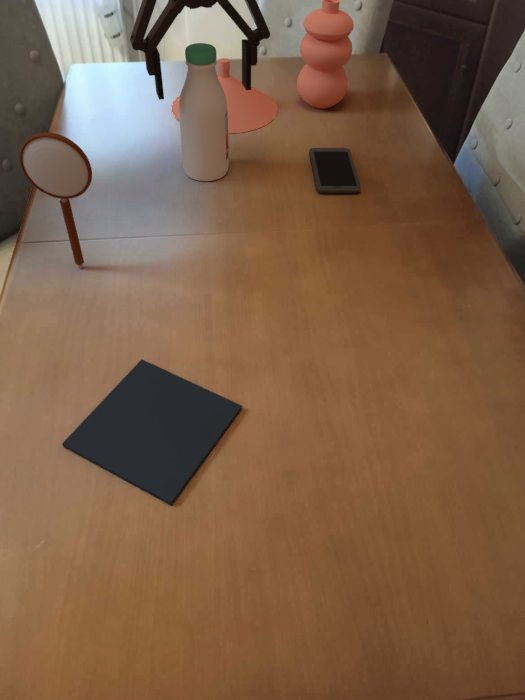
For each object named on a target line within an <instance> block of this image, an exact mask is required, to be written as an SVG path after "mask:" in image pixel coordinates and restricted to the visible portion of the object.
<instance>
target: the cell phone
mask: <svg viewBox="0 0 525 700" xmlns="http://www.w3.org/2000/svg"><path fill="white" fill-rule="evenodd" d="M308 155H309V159H310V164H311V169H312V174H313V179H314V184H315V189H316V192H317V193H318V194H358V193H360V192H361V191H362V190H361V189H362V187H361V184H360V180H359V176H358V173H357V169H356V166H355V163H354V160H353V156H352V153H351V149H350V148H347V147H310V148H309V152H308Z"/></svg>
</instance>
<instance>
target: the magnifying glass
mask: <svg viewBox="0 0 525 700" xmlns="http://www.w3.org/2000/svg"><path fill="white" fill-rule="evenodd" d="M19 164H20V168H21V170H22V172H23V174H24V176H25V178H26V179H27V180H28V181H29V182H30V184H32V186H34V187H35V188H36V189H37V190H39V191H40V192H41V193H43V194H45V195H47V196H49V197H52V198H54V199H55V198H56V199H60V200H59V205H60V208H61V212H62V216H63V220H64V225H65V228H66V232H67V236H68V240H69V244H70V249H71V252H72V256H73V260H74V263H75V265H76V266H77V268H78V269H82V268H84V263H85V260H84V255H83V251H82V247H81V244H80V240H79V235H78V231H77V226H76V222H75V218H74V214H73V210H72V206H71V205H72V204H71V201H70V199H75V198H78V197H80V196H82V195H83V194H85V192H86V191H87V190H88V189H89V188H90V185H91V183H92V180H93V170H92V169H93V168H92V165H91V162H90V160H89V158H88V156H87V154H86V153H85V151H84V150H83V149H82V147H80V146H79V145H78V144H77V143H75V142H74V140H71V139H70V138H68V137H66V136H64V135H62V134H58V133H55V132H39V133H35V134H33V135H31V136H29V137H28V138H27V139H26V140H25V141H24V142H23V144H22V146H21V147H20V151H19Z"/></svg>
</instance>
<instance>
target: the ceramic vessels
mask: <svg viewBox="0 0 525 700" xmlns="http://www.w3.org/2000/svg"><path fill="white" fill-rule="evenodd" d="M340 2H341V0H321V8H316V9H314V10H312V11H310V12H309V13H308V14H306V15H305V17H304V20H303V23H302V26H303V28H304V30H305V32H306V33H305V34H304V36H303V37H302V39H301V40H300V44H299V54H300V56H301V58H302V60H303V62H304V63H306V64H305V65H303V67H302V68H301V69H300V70H299V74H298V76H297V81H296V86H297V87H296V88H297V89H296V90H297V92H298V95H299V97H300V98H301V99H302V100H303V101H304V102H305V103H306V104H307V105H309V106H310V107H312V108H315V109H323V110H324V109H329V108H331V107H333V106H335V105H337V104H338V103H340V102H341V101H342V100H343V99H344V97H345V95H346V94H347V91H348V87H349V85H348V84H349V81H348V80H349V79H348V75H347V72H346V70H345V69H344V67H343V66H345V65H346V64H347V63H348V62H349V61H350V59H351V57H352V54H353V43H352V41H351V38H350V37H349V36H350V35H351V33H352V32H353V30H354V28H355V27H354V26H355V25H354V19H353V18H352V16H350V15H349V14H348V13H347V12H345V11H343V10H341V9H340ZM217 68H218V74H217V77H218V80H219V82H220V84H221V86H222V88H223V90H224V93H225V97H226V101H227V113H228V135H229V134H239V133H248V132H252V131H254V130H258V129H260V128H263V127H265V126H266V125H268V124H270V123H272V121H273V120H275V119H276V117H277V115H278V113H279V107H278V104H277V102H276V101H275V100H274V99H273V98H272V97H271V96H270V95H269V94H267V93H266V92H263V91H261V90H260V89H257V88H255V87H253V86H251V90H246V89H245V87H244V86H243V84H242V80H239V79H238V78H236V77H234V76H232V75H231V73H230V70H231V69H230V68H231V63H230V59H229V58H228V57H227V58H226V57H222V58H219V59H218V67H217ZM178 96H179V97H178ZM178 96H177V97H176V98H175V99H176V100H175V99H174V100H175V101H174V100H173V101H172V103H173V105H172V104H171V106H172V110H171V113H172V112H173V114H174V115H175V117H176V118H177V119H178V120H179V121H180V116H179V100H180V95H178ZM173 114H172V115H173ZM174 115H173V116H174ZM175 117H174V118H175ZM176 118H175V119H176ZM177 119H176V120H177ZM178 120H177V121H178ZM179 121H178V122H179Z"/></svg>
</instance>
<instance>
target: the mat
mask: <svg viewBox="0 0 525 700" xmlns="http://www.w3.org/2000/svg"><path fill="white" fill-rule="evenodd" d="M242 410H243V405H241V404H240V403H237V402H235V401H232V400H231V399H228V398H226V397H224V396H223V395H220V394H218V393H216V392H213V391H211V390H210V389H207V388H204V386H201V385H198V384H196V383H194V382H192V381H189V380H187V379H185V378H183V377H181V376H179V375H176V374H174V373H172V372H171V371H168V370H166V369H163V368H161V367H159V366H158V365H155V364H153V363H151V362H150V361H149V362H148V361H146V360H145V359H140V360H139V361H138V362H137V363H136V364H135V365H134V367H132V369H131V370H130V371H129V372H128V373H127V374H126V375H125V376H124V377H123V378H122V379H121V380H120V382H119V383H117V385H116V386H115V387H114V388H113V389H112V390H111V391H110V392H109V393H108V394H107V395H106V397H104V398H103V399H102V400H101V402H100V403H99V404H98V405H97V406H96V407H95V408H94V409H93V410H92V411H91V413H89V414H88V415H87V417H86V418H84V419H83V421H82V422H81V423H80V424H79V425H77V427H75V428H76V429H74V430H73V432H71V434H70V435H68V437H67V438H66V439H65V440H64V441H63V442H62V443H61V445H62V447H63V448H65V449H67V450H68V451H70V452H72V453H74V454H76V455H77V456H79V457H81V458H83V459H85V460H87V461H89V462H91V463H92V464H93V465H96V466H98V467H100V468H102V469H103V470H105V471H107V472H109V473H110V474H113V475H114V476H116V477H117V478H120V479H122V480H123V481H125V482H127V483H129V484H131V485H132V486H134V487H136V488H138V489H140V490H142V491H144V492H145V493H147V494H149V495H150V496H153V497H154V498H156V499H158V500H160V501H162V502H164V503H166V504H168V505H169V506H171V507H172V505H174V503H175V502H176V501H177V499H178V498H179V496H180V495H181V494H182V492H183V491H184V489H185V488H186V486H187V485H188V484H189V483H190V481H191V480H192V478H193V477H194V476H195V474H196V473H197V471H198V470H199V469H200V467H201V466H202V465H203V463H204V462H205V461H206V459H207V458H208V456H209V455H210V454H211V452H212V451H213V449H214V448H215V447H216V445H217V444H219V443H218V442H219V441H220V440H221V438H223V436H224V435H225V433H226V431H227V430H228V429H229V428H230V426H231V425H232V423H233V422H234V421H235V419H236V418H237V416H238V415H239V414H240V412H241V411H242Z"/></svg>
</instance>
